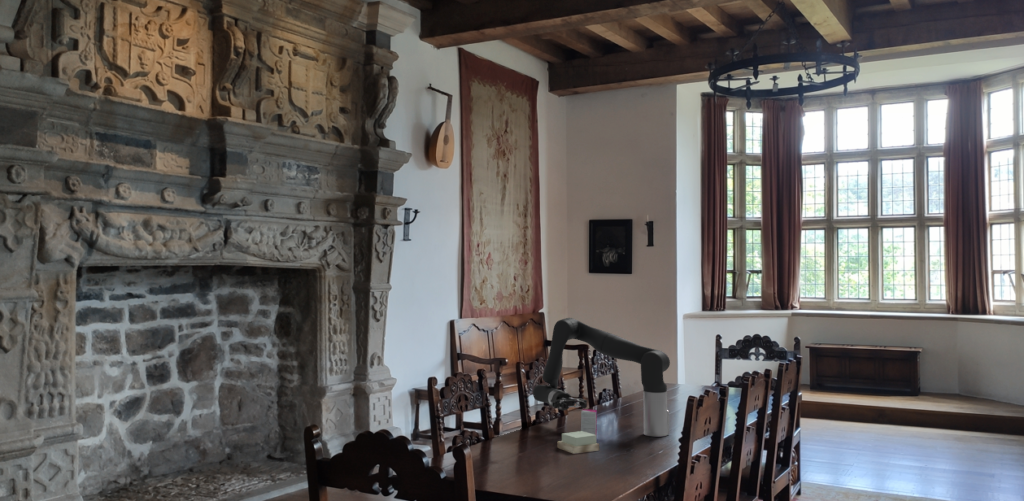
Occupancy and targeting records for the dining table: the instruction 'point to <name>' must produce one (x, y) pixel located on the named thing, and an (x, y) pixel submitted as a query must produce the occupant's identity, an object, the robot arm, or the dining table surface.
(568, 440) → the sage top block
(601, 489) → the dining table surface
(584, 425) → the supplement box
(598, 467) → the dining table surface
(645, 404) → the robot arm
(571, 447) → the birch base block
